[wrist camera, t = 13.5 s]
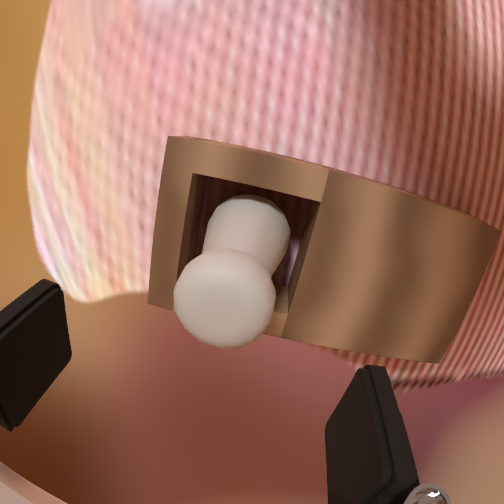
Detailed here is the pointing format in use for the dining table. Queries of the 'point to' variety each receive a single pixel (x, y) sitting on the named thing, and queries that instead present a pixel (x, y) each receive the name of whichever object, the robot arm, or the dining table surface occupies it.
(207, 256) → the salt shaker
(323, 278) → the caddy
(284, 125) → the dining table surface
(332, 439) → the robot arm
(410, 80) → the dining table surface
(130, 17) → the dining table surface
